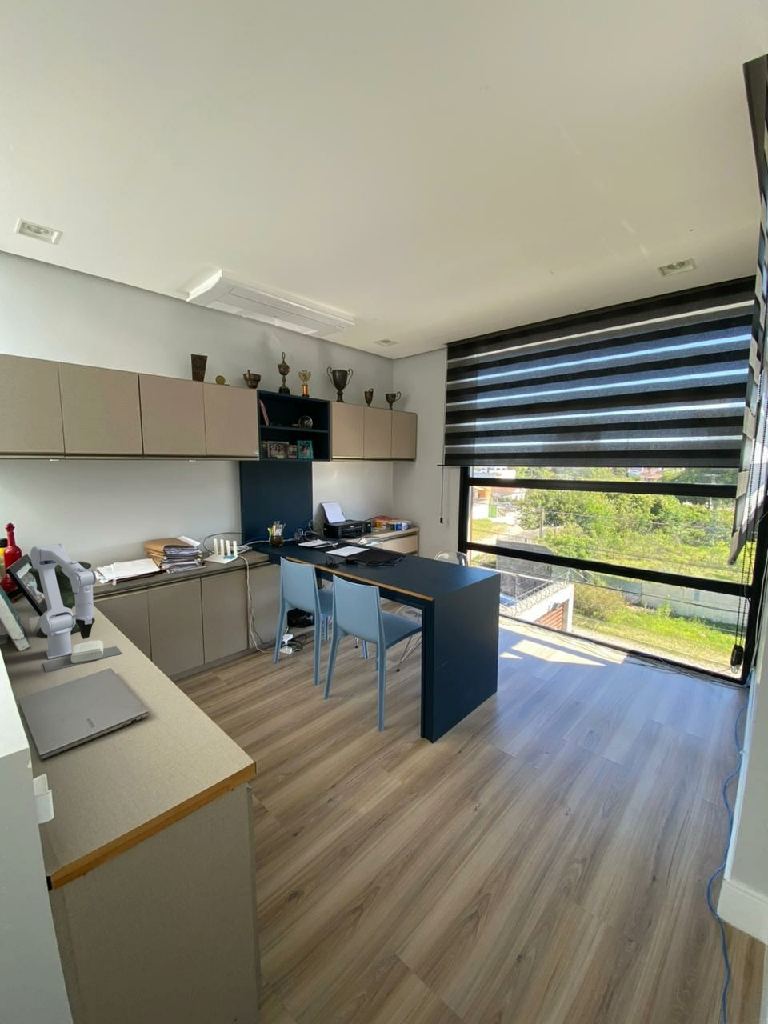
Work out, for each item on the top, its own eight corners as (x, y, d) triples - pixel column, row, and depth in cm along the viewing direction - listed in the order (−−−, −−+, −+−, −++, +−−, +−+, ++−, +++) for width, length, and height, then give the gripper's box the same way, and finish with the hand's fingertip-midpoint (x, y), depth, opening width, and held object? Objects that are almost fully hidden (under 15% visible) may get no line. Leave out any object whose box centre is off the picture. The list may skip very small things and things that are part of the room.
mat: (42, 663, 159) (42, 662, 159) (116, 646, 175) (116, 645, 175) (46, 672, 152) (46, 671, 152) (122, 653, 169) (122, 652, 169)
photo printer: (103, 658, 163) (103, 647, 173) (102, 647, 163) (102, 637, 173) (70, 665, 157) (72, 653, 168) (70, 654, 157) (72, 643, 167)
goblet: (30, 629, 193) (27, 565, 191) (89, 618, 208) (87, 559, 206) (32, 643, 177) (29, 574, 174) (96, 631, 192) (94, 567, 190)
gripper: (67, 600, 160) (69, 635, 161) (74, 609, 150) (76, 646, 151) (90, 597, 165) (91, 630, 166) (98, 605, 154) (99, 641, 156)
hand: (85, 637), depth 159 cm, fingers closed
